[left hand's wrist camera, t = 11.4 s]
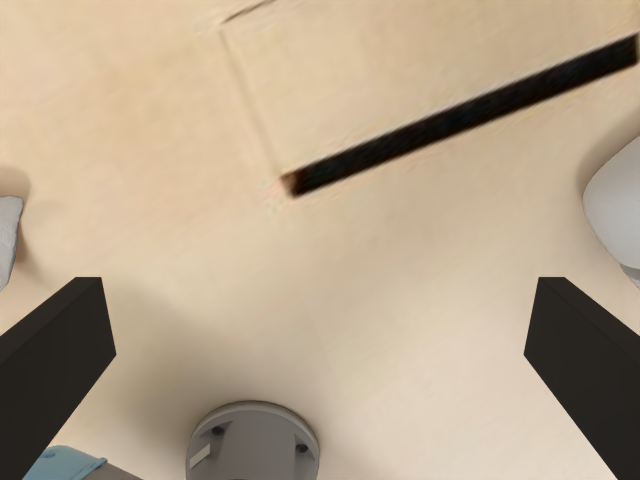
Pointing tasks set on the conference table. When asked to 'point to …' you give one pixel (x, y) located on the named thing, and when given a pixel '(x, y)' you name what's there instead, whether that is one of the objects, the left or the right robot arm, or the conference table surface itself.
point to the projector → (618, 208)
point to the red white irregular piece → (8, 235)
